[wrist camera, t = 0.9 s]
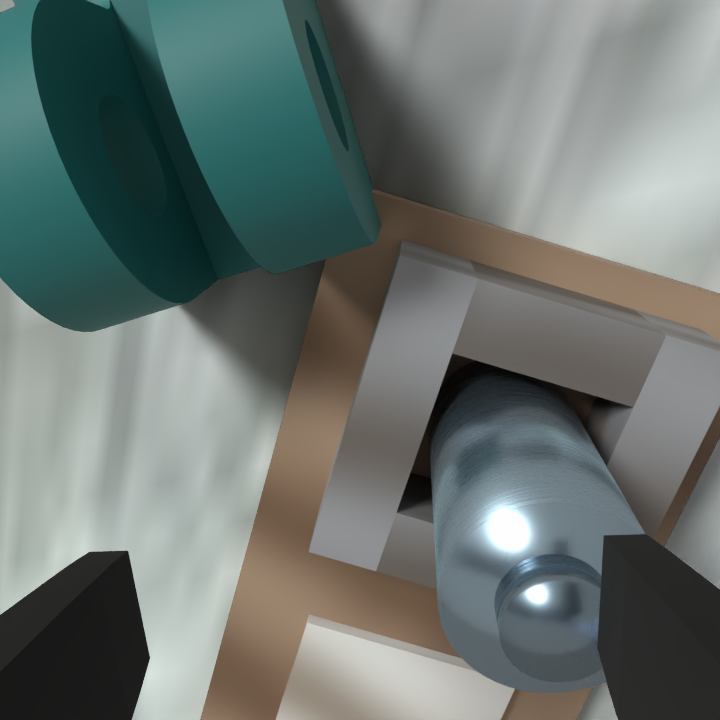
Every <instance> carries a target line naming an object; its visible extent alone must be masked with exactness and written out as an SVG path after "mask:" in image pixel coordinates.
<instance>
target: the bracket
mask: <svg viewBox="0 0 720 720" xmlns="http://www.w3.org/2000/svg"><path fill="white" fill-rule="evenodd" d="M13 2H14V4H15V7H12V8H10V9H8V10H5V11H3V12H0V277H1V279H2V280H3V281H4V282H5V283H6V284H7V285H8V286H9V287H10V288H11V289H12V290H13V291H14V293H15V294H16V295H18V296H19V297H20V298H21V299H22V300H23V301H24V302H25V303H26V304H28V305H29V306H30V307H31V308H33V309H34V310H35V311H37V312H38V313H39V314H41V315H42V316H44V317H45V318H47V319H49V320H50V321H52V322H54V323H56V324H58V325H60V326H62V327H65V328H68V329H71V330H74V331H81V332H93V331H97V330H101V329H104V328H107V327H110V326H114V325H117V324H120V323H123V322H126V321H130V320H133V319H136V318H139V317H142V316H146V315H149V314H152V313H155V312H158V311H162V310H165V309H168V308H171V307H174V306H177V305H181V304H184V303H187V302H189V301H191V300H193V299H194V298H195V297H197V296H198V295H199V294H200V293H202V292H203V291H204V290H206V289H207V288H208V287H210V286H211V285H212V284H213V283H215V282H216V281H217V280H219V279H223V278H226V277H229V276H232V275H235V274H238V273H242V272H245V271H248V270H251V269H254V268H257V267H260V266H261V267H262V268H264V269H265V270H266V271H268V272H270V273H273V274H280V273H283V272H286V271H289V270H292V269H296V268H299V267H302V266H305V265H308V264H311V263H315V262H318V261H321V260H324V259H327V258H331V257H334V256H337V255H340V254H343V253H347V252H350V251H353V250H356V249H359V248H363V247H366V246H369V245H372V244H375V243H376V241H377V238H378V235H379V231H380V228H381V221H380V218H379V215H378V212H377V208H376V205H375V202H374V199H373V196H372V191H373V186H372V183H371V179H370V176H369V173H368V170H367V166H366V163H365V160H364V157H363V153H362V150H361V147H360V144H359V140H358V137H357V134H356V131H355V127H354V124H353V121H352V118H351V114H350V111H349V108H348V105H347V101H346V98H345V95H344V92H343V89H342V85H341V82H340V79H339V76H338V72H337V69H336V66H335V63H334V59H333V56H332V53H331V50H330V46H329V43H328V40H327V37H326V33H325V30H324V27H323V24H322V20H321V17H320V14H319V11H318V7H317V4H316V1H315V0H13Z"/></svg>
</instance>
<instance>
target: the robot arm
mask: <svg viewBox="0 0 720 720" xmlns="http://www.w3.org/2000/svg"><path fill="white" fill-rule="evenodd" d="M597 649H598V652H599V656H600V660H601V663H602V667H603V670H604V674H605V678H606V681H607V685H608V688H609V692H610V695H611V698H612V702H613V705H614V708H615V712H616V715H617V717H618V720H720V589H718V588H717V587H716V586H714V585H713V584H712V583H710V582H709V581H708V580H706V579H705V578H704V577H702V576H701V575H700V574H699V573H697V572H696V571H695V570H693V569H692V568H691V567H689V566H688V565H687V564H686V563H684V562H683V561H682V560H680V559H679V558H678V557H676V556H675V555H674V554H673V553H671V552H670V551H669V550H667V549H666V548H665V547H663V546H662V545H661V544H659V543H658V542H657V541H655V540H654V539H652V538H651V537H650V536H648V535H647V534H631V535H604V538H603V556H602V573H601V591H600V608H599V626H598V643H597ZM149 659H150V656H149V651H148V647H147V642H146V637H145V632H144V627H143V622H142V617H141V612H140V607H139V602H138V598H137V593H136V588H135V583H134V578H133V573H132V568H131V563H130V558H129V554H128V551H106V552H89V553H87V554H86V555H84V556H82V557H81V558H79V559H78V560H76V561H75V562H73V563H72V564H70V565H69V566H67V567H66V568H64V569H63V570H62V571H60V572H59V573H57V574H56V575H55V576H53V577H52V578H50V579H49V580H48V581H46V582H45V583H44V584H42V585H41V586H39V587H38V588H37V589H35V590H34V591H33V592H31V593H30V594H28V595H27V596H26V597H24V598H23V599H22V600H20V601H19V602H17V603H16V604H15V605H13V606H12V607H11V608H9V609H8V610H6V611H5V612H4V613H2V614H1V615H0V720H132V717H133V713H134V710H135V707H136V704H137V701H138V698H139V694H140V691H141V687H142V684H143V680H144V677H145V673H146V670H147V666H148V663H149Z"/></svg>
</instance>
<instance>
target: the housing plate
mask: <svg viewBox="0 0 720 720" xmlns="http://www.w3.org/2000/svg"><path fill="white" fill-rule="evenodd" d="M372 196H373V199H374V202H375V205H376V208H377V212H378V215H379V218H380V221H381V228H380V231H379V235H378V238H377V241H376V243H375V244H372V245H369V246H366V247H363V248H359V249H356V250H353V251H350V252H347V253H343V254H340V255H337V256H334V257H331V258H327V259H326V261H325V264H324V268H323V272H322V275H321V279H320V283H319V286H318V290H317V294H316V297H315V301H314V305H313V308H312V312H311V316H310V319H309V323H308V327H307V330H306V334H305V338H304V341H303V345H302V349H301V352H300V356H299V360H298V363H297V367H296V371H295V374H294V378H293V382H292V385H291V389H290V393H289V396H288V400H287V404H286V407H285V411H284V415H283V419H282V422H281V426H280V430H279V433H278V437H277V441H276V444H275V448H274V452H273V455H272V459H271V463H270V466H269V470H268V474H267V477H266V481H265V485H264V488H263V492H262V496H261V499H260V503H259V507H258V510H257V514H256V518H255V521H254V525H253V529H252V532H251V536H250V540H249V543H248V547H247V551H246V554H245V558H244V562H243V565H242V569H241V573H240V576H239V580H238V584H237V587H236V591H235V595H234V598H233V602H232V606H231V609H230V613H229V617H228V620H227V624H226V628H225V631H224V635H223V639H222V642H221V646H220V650H219V653H218V657H217V661H216V664H215V668H214V672H213V675H212V679H211V683H210V686H209V690H208V694H207V697H206V701H205V705H204V708H203V712H202V716H201V719H200V720H576V719H577V717H578V715H579V713H580V711H581V709H582V708H583V706H584V704H585V702H586V700H587V698H588V696H589V694H590V692H591V690H592V688H593V687H589V688H586V689H582V690H577V691H571V692H564V693H535V692H529V691H522V690H518V689H514V688H510V687H507V686H505V685H502V684H499V683H497V682H495V681H493V680H491V679H489V678H487V677H485V676H483V675H482V674H480V673H479V672H477V671H476V670H474V669H473V668H472V667H471V666H470V665H468V664H467V663H466V662H465V661H464V660H463V659H462V658H461V657H460V656H459V655H458V653H457V652H456V651H455V650H454V648H453V647H452V645H451V644H450V642H449V641H448V639H447V637H446V635H445V632H444V630H443V628H442V624H441V621H440V618H439V610H438V600H437V580H436V561H435V541H434V522H433V503H432V483H431V464H430V445H429V418H430V415H431V412H432V410H433V407H434V404H435V401H436V398H437V395H438V392H439V390H440V387H441V385H442V384H443V383H444V382H445V380H446V379H447V378H448V377H449V376H450V375H452V374H453V373H454V372H455V371H457V370H458V369H460V368H461V367H463V366H465V365H467V364H469V363H471V362H474V361H480V362H483V363H486V364H490V365H493V366H496V367H500V368H503V369H507V370H510V371H513V372H517V373H520V374H523V375H527V376H530V377H533V378H537V379H540V380H543V381H547V382H550V383H554V384H557V385H560V387H561V389H562V390H563V392H564V394H565V395H566V397H567V399H568V401H569V402H570V404H571V406H572V408H573V409H574V411H575V413H576V414H577V416H578V418H579V420H580V421H581V423H582V425H583V427H584V428H585V430H586V432H587V433H588V435H589V437H590V439H591V440H592V442H593V444H594V446H595V447H596V449H597V451H598V453H599V454H600V456H601V458H602V459H603V461H604V463H605V465H606V466H607V468H608V470H609V472H610V473H611V475H612V477H613V478H614V480H615V482H616V484H617V485H618V487H619V489H620V491H621V492H622V494H623V496H624V498H625V499H626V501H627V503H628V504H629V506H630V508H631V510H632V511H633V513H634V515H635V517H636V518H637V520H638V522H639V523H640V525H641V527H642V529H643V530H644V532H645V534H647V535H648V536H650V537H651V538H652V539H654V540H655V541H657V542H658V543H659V544H661V545H662V546H663V547H664V546H665V544H666V542H667V540H668V538H669V536H670V534H671V532H672V530H673V528H674V526H675V524H676V523H677V521H678V519H679V517H680V515H681V513H682V511H683V509H684V507H685V505H686V503H687V501H688V499H689V497H690V495H691V493H692V491H693V489H694V487H695V485H696V483H697V481H698V479H699V477H700V475H701V473H702V471H703V469H704V467H705V465H706V463H707V461H708V460H709V458H710V456H711V454H712V452H713V450H714V448H715V446H716V444H717V442H718V440H719V438H720V294H719V293H716V292H712V291H709V290H706V289H702V288H699V287H696V286H692V285H689V284H686V283H683V282H679V281H676V280H673V279H669V278H666V277H663V276H659V275H656V274H653V273H649V272H646V271H643V270H639V269H636V268H633V267H630V266H626V265H623V264H620V263H616V262H613V261H610V260H606V259H603V258H600V257H596V256H593V255H590V254H587V253H583V252H580V251H577V250H573V249H570V248H567V247H563V246H560V245H557V244H553V243H550V242H547V241H543V240H540V239H537V238H534V237H530V236H527V235H524V234H520V233H517V232H514V231H510V230H507V229H504V228H500V227H497V226H494V225H490V224H487V223H484V222H481V221H477V220H474V219H471V218H467V217H464V216H461V215H457V214H454V213H451V212H447V211H444V210H441V209H437V208H434V207H431V206H428V205H424V204H421V203H418V202H414V201H411V200H408V199H404V198H401V197H398V196H394V195H391V194H388V193H384V192H381V191H378V190H375V189H373V191H372Z"/></svg>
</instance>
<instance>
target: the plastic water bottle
mask: <svg viewBox="0 0 720 720" xmlns="http://www.w3.org/2000/svg"><path fill="white" fill-rule="evenodd" d="M429 445H430V464H431V483H432V503H433V522H434V541H435V561H436V580H437V600H438V610H439V618H440V621H441V624H442V628H443V630H444V632H445V635H446V637H447V639H448V641H449V642H450V644H451V645H452V647H453V648H454V650H455V651H456V652H457V653H458V655H459V656H460V657H461V658H462V659H463V660H464V661H465V662H466V663H467V664H468V665H470V666H471V667H472V668H473V669H474V670H476V671H477V672H479V673H480V674H482V675H483V676H485V677H487V678H489V679H491V680H493V681H495V682H497V683H499V684H502V685H505V686H507V687H510V688H514V689H518V690H522V691H529V692H535V693H564V692H571V691H577V690H582V689H586V688H589V687H593V686H596V685H598V684H601V683H603V682H606V678H605V674H604V670H603V667H602V663H601V660H600V656H599V652H598V649H597V643H598V626H599V608H600V591H601V573H602V556H603V538H604V535H631V534H645V532H644V530H643V529H642V527H641V525H640V523H639V522H638V520H637V518H636V517H635V515H634V513H633V511H632V510H631V508H630V506H629V504H628V503H627V501H626V499H625V498H624V496H623V494H622V492H621V491H620V489H619V487H618V485H617V484H616V482H615V480H614V478H613V477H612V475H611V473H610V472H609V470H608V468H607V466H606V465H605V463H604V461H603V459H602V458H601V456H600V454H599V453H598V451H597V449H596V447H595V446H594V444H593V442H592V440H591V439H590V437H589V435H588V433H587V432H586V430H585V428H584V427H583V425H582V423H581V421H580V420H579V418H578V416H577V414H576V413H575V411H574V409H573V408H572V406H571V404H570V402H569V401H568V399H567V397H566V395H565V394H564V392H563V390H562V389H561V387H560V385H557V384H554V383H550V382H547V381H543V380H540V379H537V378H533V377H530V376H527V375H523V374H520V373H517V372H513V371H510V370H507V369H503V368H500V367H496V366H493V365H490V364H486V363H483V362H480V361H474V362H471V363H469V364H467V365H465V366H463V367H461V368H460V369H458V370H457V371H455V372H454V373H453V374H452V375H450V376H449V377H448V378H447V379H446V380H445V382H444V383H443V384H442V385H441V387H440V390H439V392H438V395H437V398H436V401H435V404H434V407H433V410H432V412H431V415H430V418H429Z"/></svg>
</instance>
